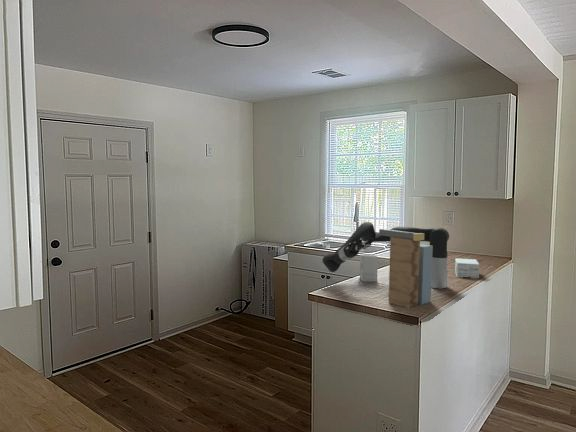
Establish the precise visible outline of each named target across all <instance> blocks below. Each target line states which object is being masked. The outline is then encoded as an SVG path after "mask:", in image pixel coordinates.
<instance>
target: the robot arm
mask: <svg viewBox="0 0 576 432" xmlns="http://www.w3.org/2000/svg"><path fill="white" fill-rule="evenodd" d="M389 230H396V231H405V232H413V233H424V240H420V242H428V243H429V245H430V246H433V253H432V279H431V289H437V288H438V290H439V289H441V290H442V289H443V288H444V289H446V288H447V287H448V271H449V270H448V255H449V254H448V240H449V239H450V234H449V231H448V230H447V229H445V228H443V227H442V228H441V227H436V228H421V227H420V228H419V227H413V226H412V227H410V226H395V227H392V228H390V229H389ZM376 242H377V243H378V242H380V243H381V242H382V243H383V242H386V243H387V242H388V243H390V237H389V236H382V235H379V231H376V230H375V226H374V225H373V223H372V222H371V221H365V222H363V223H361V224H360V225H359V226H358V227H357V228H356V230H355V231H354V232H353V233H352V235H350V237H349V238H348V239H347V240H346V241H345V242H344V243H343V244H342V245H341V246H339V247H338V248H337V249H336V250H335V251H334V252H331V253H328V254H326V255H324V256H323V258H322V263H323V265H324V266H325V267H326V268H327V269H328V271H329V272H330V273H335V272H336V271H338V269H339V268H341V267H340V266H341V265H342V264H344V263H345V262H347V261H349V260H351V259H353V258H354V257H356V256H358V255H359V252H360V251H361V250H365V249H368V248H369V247H371V246H372V245H373V243H376Z"/></svg>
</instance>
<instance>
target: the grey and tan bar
mask: <svg viewBox="0 0 576 432" xmlns="http://www.w3.org/2000/svg"><path fill="white" fill-rule="evenodd" d="M378 232H379V235H382V236H389V237H396V238H403V239H410V240H414V241H419V240H424V233H413V232H405V231H396V230H390V229H389V228H386V229H385V228H379V230H378Z"/></svg>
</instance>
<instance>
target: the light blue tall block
mask: <svg viewBox="0 0 576 432" xmlns="http://www.w3.org/2000/svg"><path fill="white" fill-rule="evenodd" d="M432 253H433V246H430V244H422V243H420V258H419V287H418V303H419V304H420V305H425V304H424V303H426V304H428V302H430V303H431V301H432V287H431V279H432ZM419 304H418V305H419Z"/></svg>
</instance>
